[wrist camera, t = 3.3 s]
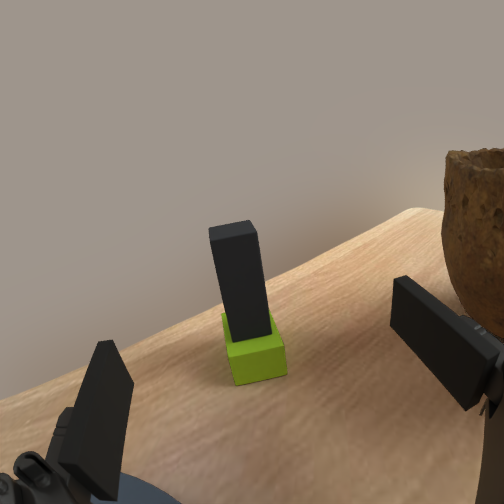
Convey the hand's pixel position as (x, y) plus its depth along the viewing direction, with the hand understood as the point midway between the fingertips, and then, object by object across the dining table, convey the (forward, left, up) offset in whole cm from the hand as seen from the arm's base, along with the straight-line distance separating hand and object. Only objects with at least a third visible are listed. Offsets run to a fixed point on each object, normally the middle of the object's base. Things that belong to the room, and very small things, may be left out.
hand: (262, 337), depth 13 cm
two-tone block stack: (-8, +4, -9) cm, 12 cm away
